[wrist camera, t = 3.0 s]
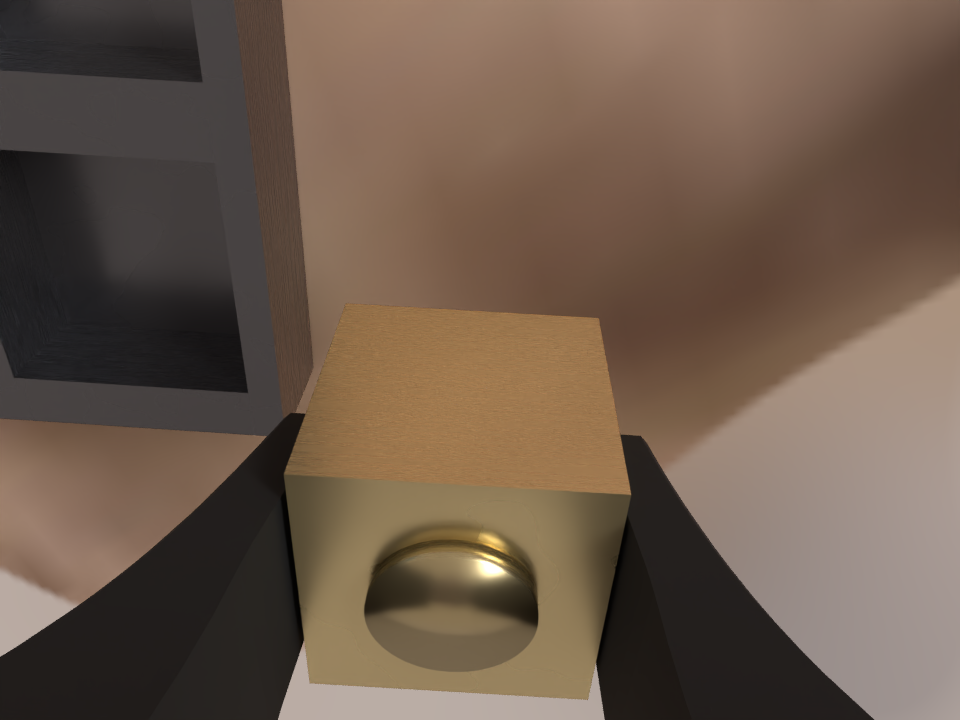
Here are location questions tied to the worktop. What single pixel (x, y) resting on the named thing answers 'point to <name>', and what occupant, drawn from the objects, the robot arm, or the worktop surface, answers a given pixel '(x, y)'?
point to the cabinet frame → (149, 216)
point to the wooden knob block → (458, 502)
